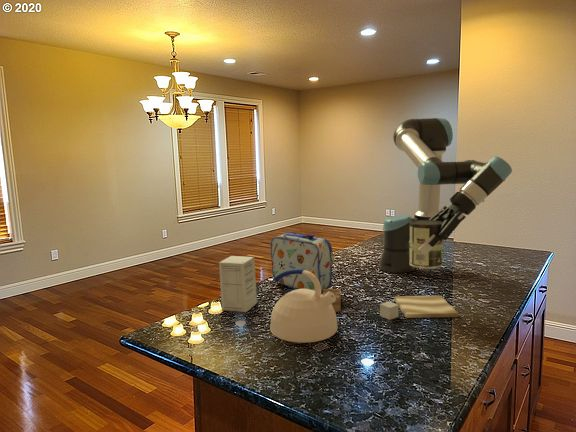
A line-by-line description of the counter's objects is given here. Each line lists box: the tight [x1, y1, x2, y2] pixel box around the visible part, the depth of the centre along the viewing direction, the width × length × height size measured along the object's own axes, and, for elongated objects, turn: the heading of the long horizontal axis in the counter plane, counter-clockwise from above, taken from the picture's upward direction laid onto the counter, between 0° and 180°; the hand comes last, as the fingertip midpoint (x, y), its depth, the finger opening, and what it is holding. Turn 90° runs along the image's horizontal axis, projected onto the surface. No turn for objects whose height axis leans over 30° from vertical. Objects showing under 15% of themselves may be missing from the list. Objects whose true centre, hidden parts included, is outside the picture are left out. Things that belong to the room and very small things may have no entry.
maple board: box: [394, 295, 459, 319], centre depth 134 cm, size 16×16×1 cm
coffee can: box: [409, 220, 443, 270], centre depth 131 cm, size 10×10×14 cm
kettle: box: [269, 269, 339, 344], centre depth 120 cm, size 20×21×18 cm
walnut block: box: [321, 292, 342, 313], centre depth 135 cm, size 5×5×5 cm
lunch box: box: [270, 231, 336, 291], centre depth 156 cm, size 28×10×22 cm, turn 47°
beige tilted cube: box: [379, 300, 400, 321], centre depth 128 cm, size 4×4×4 cm
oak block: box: [322, 288, 341, 297], centre depth 142 cm, size 5×6×4 cm
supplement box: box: [218, 255, 258, 313], centre depth 139 cm, size 10×9×17 cm
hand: (416, 248), depth 131 cm, fingers closed on coffee can, 10 cm apart
